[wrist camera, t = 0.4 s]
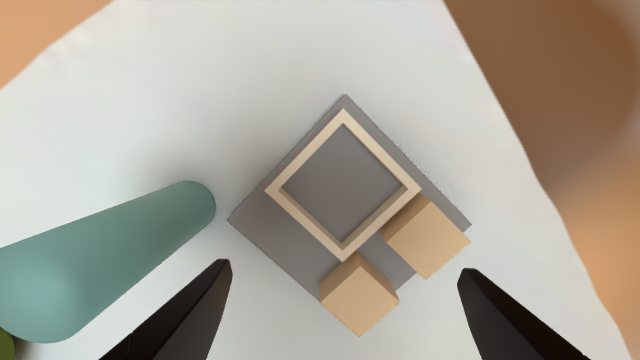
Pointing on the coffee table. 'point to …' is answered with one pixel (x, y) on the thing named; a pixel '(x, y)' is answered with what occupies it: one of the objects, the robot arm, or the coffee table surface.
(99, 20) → the coffee table surface
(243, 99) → the coffee table surface
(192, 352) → the robot arm
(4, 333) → the apple
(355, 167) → the base board
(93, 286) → the teal column
